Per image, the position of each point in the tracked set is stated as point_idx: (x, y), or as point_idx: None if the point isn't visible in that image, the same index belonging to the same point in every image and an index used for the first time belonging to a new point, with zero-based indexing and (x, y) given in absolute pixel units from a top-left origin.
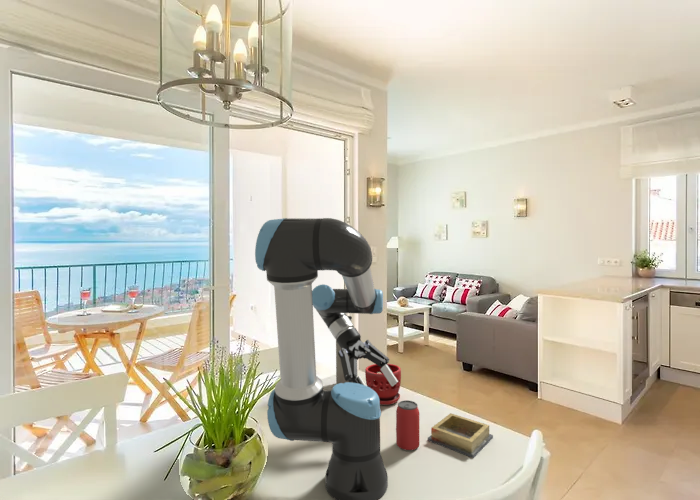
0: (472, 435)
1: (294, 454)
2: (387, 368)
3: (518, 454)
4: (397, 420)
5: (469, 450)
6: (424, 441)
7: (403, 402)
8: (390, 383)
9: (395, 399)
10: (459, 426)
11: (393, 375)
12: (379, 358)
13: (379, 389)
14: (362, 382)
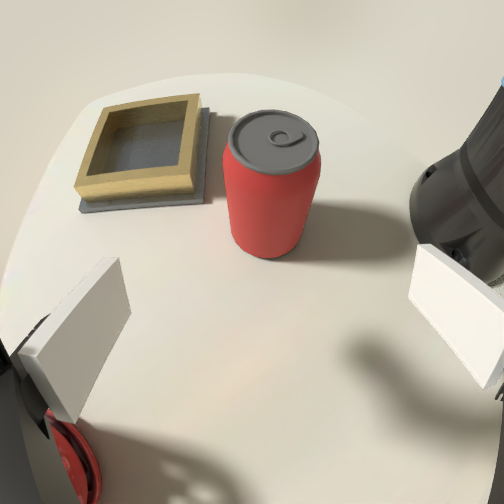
0: (127, 140)
1: (497, 406)
2: (60, 328)
3: (150, 84)
4: (312, 196)
5: (201, 112)
6: (212, 207)
7: (260, 165)
8: (123, 320)
9: (48, 411)
10: (101, 173)
11: (86, 282)
12: (5, 438)
13: (69, 468)
14: (488, 288)
